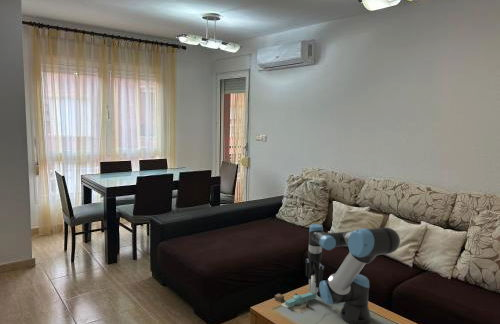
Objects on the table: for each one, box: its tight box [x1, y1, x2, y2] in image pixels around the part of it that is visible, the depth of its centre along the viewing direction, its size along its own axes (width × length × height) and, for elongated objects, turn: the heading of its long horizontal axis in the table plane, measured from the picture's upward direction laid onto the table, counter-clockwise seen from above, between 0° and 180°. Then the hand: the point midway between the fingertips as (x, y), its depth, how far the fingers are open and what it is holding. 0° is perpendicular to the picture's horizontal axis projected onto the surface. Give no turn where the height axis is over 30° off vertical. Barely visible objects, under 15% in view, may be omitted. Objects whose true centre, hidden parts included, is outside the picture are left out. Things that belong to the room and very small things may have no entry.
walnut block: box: [274, 293, 285, 303], centre depth 207 cm, size 4×4×4 cm
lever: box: [284, 274, 317, 307], centre depth 203 cm, size 5×21×13 cm, turn 123°
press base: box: [280, 292, 313, 314], centre depth 201 cm, size 14×11×5 cm
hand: (313, 290), depth 208 cm, fingers open, 4 cm apart
